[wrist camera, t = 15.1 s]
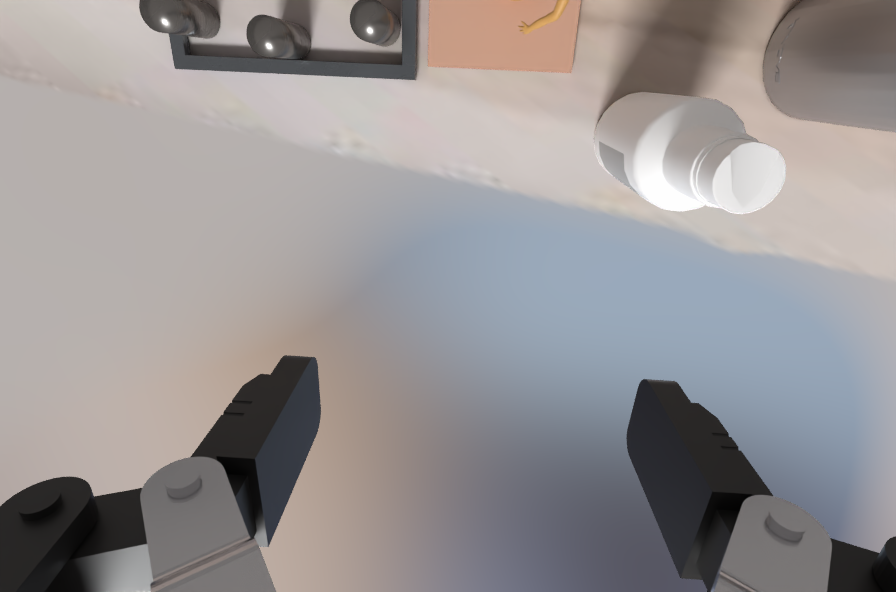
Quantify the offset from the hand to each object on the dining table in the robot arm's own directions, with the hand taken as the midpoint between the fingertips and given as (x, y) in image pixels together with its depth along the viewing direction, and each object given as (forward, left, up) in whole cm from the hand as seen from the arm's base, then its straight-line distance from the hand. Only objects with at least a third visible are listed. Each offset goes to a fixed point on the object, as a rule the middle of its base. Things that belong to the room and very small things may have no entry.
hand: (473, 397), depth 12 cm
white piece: (-13, -3, -32) cm, 35 cm away
